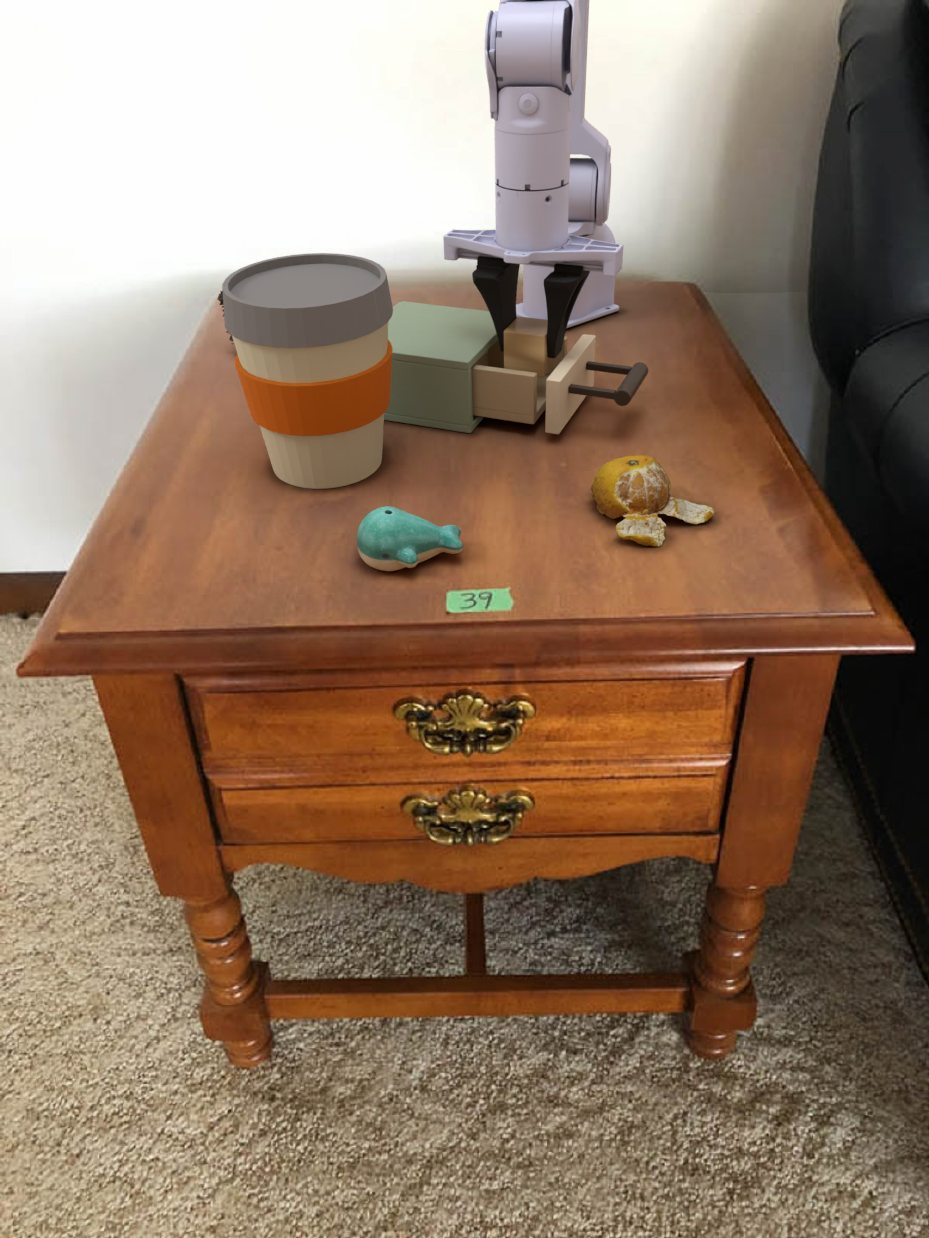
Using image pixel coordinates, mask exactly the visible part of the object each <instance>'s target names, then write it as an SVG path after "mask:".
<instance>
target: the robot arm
mask: <svg viewBox="0 0 929 1238" xmlns="http://www.w3.org/2000/svg"><path fill="white" fill-rule="evenodd" d="M589 18H590V0H499V2H498V10H495V11H494V10H489V11H488V14H487V18H486V23H485V30H484V66H485V67H484V68H485V74H486V79H487V86H488V94H489V113H490V119H491V120H492V119H493V120H494V127H493V128H494V197H495V198H494V199H495V200H494V201H495V202H494V203H495V205H494V206H495V210H494V211H495V213H494V214H495V229H455V228H454V229H451V230H450V231H448V232H447V233H446V234H444V235H443V236H442V238H443V239H442V241H443V258H444V260H446V261H458V260H459V259H462V260H463V259H464V260H465V259H466V260H474V261H476V268H475V270H473V271H472V273H471V274H472V282H473V284H474V287H476V289H477V290H478V292H479V294H480V296H481V298H482V300H483V302H484V304H485V305H486V308H487V311H489V312H490V315H491V317H492V320H493V323H494V326H495V330H496V333H497V337H498V341H499V346H500V351H501V352H504V330H505V329H506V328H507V327H508V326H509V325H510V324H511V323H512V322H513V321H514V320H515V319H516V318H517V317H518V316H520V317H528V318H537V319H546V320H548V325H547V356H548V358H556V357H557V355H558V354H559V353H560V352H561V351H562V346H563V340H564V336H565V335H566V331H567V329H568V328H572V327H574V326H578V325H581V324H584V323H586V322H590V321H592V320H595V319H598V318H601V317H604V316H607V315H610V314H613V313H617V312H619V311H620V306H619V305H618V304H616V303H615V291H616V290H615V287H616V276H618V274H619V273H620V272H621V271H622V270H623V262H624V261H623V259H624V244H623V243H617V242H616V239H615V236H614V233H613V231H612V229H611V228H610V226H609V225H608V224H606V221H608V219H609V213H610V202H611V188H612V187H611V186H612V163H611V155H612V146H611V145H610V144H609V143H610V142H609V139H608V138H607V137H606V136H605V135H604V134H603V132H601V131H600V130H598V129H597V128H596V127H595V126H594V125H592V124H591V123H590V122H589V121H588V120H587V119H586V118H585V114H586V113H585V112H586V111H585V109H586V88H587V85H586V84H587V68H588V67H587V64H588V44H589V43H588V40H589V22H590V21H589V20H590V19H589ZM571 155H582V156H586V157H571ZM520 265H522V302H520V303H517V294H518V283H519V273H520Z"/></svg>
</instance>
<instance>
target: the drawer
mask: <svg viewBox="0 0 929 1238" xmlns="http://www.w3.org/2000/svg"><path fill="white" fill-rule="evenodd" d="M596 342H597V335H594V334H586V333H583V334H582V335H581V336H580V337H579V338H578V340H577V341H576V342H575V343H574V345H573V346H572V347H571V348H570V349H569V351H568V336H564V340H563V346H562V351H561V352H560V353H559V354H558V355H557V361H556V363H555V364H554V365H553V366H552V368H551V369H550V370H549V371H548V373H547V374H546V375H545V376H544V377H540V376H537V373H534V372H526V371H519V370H511V369H504V352H501V351H500V346H499V341H498V340H497V341H496V342H495V343H494V344H493V345H492V346H491V347H490V348H489V349H488V350H487V351H486V352H485V353H484V354H483V355H482V357H481V358H480V359H479V360H478V361H477V362H476V363H475V364H474V365H473V366H472V367H471V374H472V409H473V415H474V416H481V417H484V418H489V419H494V420H495V419H496V420H501V421H509V422H514V423H522V424H528V425H534V424H535V423H536V422H537V420H538V419H539V418H540V416H541V415H542V414H543V413H544V411H545V423H544V425H545V426H544V428H545V429H544V432H545V433H546V434H553V435H560V433H562V431H563V429H564V428H565V426H567V424H568V422H569V421H570V420H571V418H572V416H573V415H574V414H575V413H576V411H577V410H578V409H579V407H580V405H581V404H582V402H583V401H584V400H585V398H586V397H595V398H601V399H608V400H609V399H610V400H614V402H615V404H616V405H618V406H620V407H626V406H628V405H629V404H630V402H631V401H632V399H633V398H634V396H635V395H636V393H637V391H638V390H639V388H640V387H641V385H642V383H643V382H644V381H645V379H646V377H647V376H648V374H649V367H648V365H647V364H646V363H645V362H640V361H639V362H636V363H634V364H633V366H631V365H622V364H614V363H607V362H599V361H596V347H597V346H596V345H597V343H596ZM595 372H602V373H608V374H615V375H624V376H625V377H624V378H623V380H622V382H621V384H620V385H619V387H618V388H617V389H611V388H605V387H597V386H595Z"/></svg>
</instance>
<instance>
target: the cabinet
mask: <svg viewBox="0 0 929 1238" xmlns="http://www.w3.org/2000/svg"><path fill="white" fill-rule="evenodd" d="M392 307H393V314H392V317H391V318H390V320H389V323H388V340H389V341H390V342H391V345H392V348H393V351H392V370H391V390H390V403H389V407H388V408H387V410H386V412H385V413H384V421H389V422H394V423H402V424H408V425H415V426H421V427H427V428H433V429H440V430H446V431H453V432H459V433H466V434H471V433H472V432H473V431H474V430H475V429H476V427H477V426H479V424H480V423H481V421H482V420H483V419H484V418H485V417H481V416H474V415H473V409H472V374H471V367H472V366H473V365H474V364H475V363H476V362H477V361H478V360H479V359H480V358H481V357H482V355H483V354H484V353H485V352H486V351H487V350H488V349H489V348H490V347H491V346H492V345H493V344H494V343H495V342H496V341H497V340H498V337H497V333H496V330H495V326H494V323H493V320H492V317H491V315H490V312H489V310H482V309H475V308H464V307H457V306H448V305H447V306H446V305H441V304H440V305H438V304H430V303H422V302H421V303H420V302H412V301H403V300H400V301H399V302H397V303H396V304H395V305H394V306H392Z"/></svg>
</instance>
